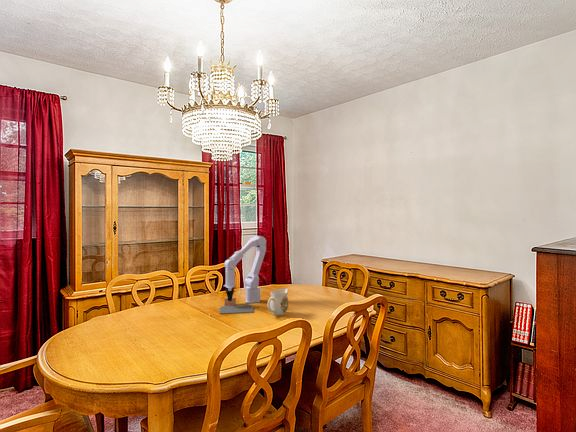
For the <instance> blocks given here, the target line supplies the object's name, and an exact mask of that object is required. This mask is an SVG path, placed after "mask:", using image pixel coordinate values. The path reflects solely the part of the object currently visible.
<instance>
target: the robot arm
mask: <svg viewBox="0 0 576 432" xmlns="http://www.w3.org/2000/svg"><path fill="white" fill-rule="evenodd" d="M267 242H268V241H267V240H266V238H265V236H263V235H262V236H261V235H256V234H255V235H253V236H252V237H251V238H249V239H248V241H247V243H246V244H244V245H243V246H242V248H241V249H240V250H237V251H234V253H233V254H232V255H231V256H230V257H229V258H227V259H226V260H225V261H224V263H223V266H224V268H225V284H224V285H223V288H224V287H225V293H226V296H227V297H228V301H232V297H234V296H233V295H234V293H235V286H236V285H235V281H236V280H235V279H236V278H235V277H236V276H235V273H236V272H235V270H236V269H235V268H237V264H238V263H239V262H240V261H241V260H242V259H243V258H244V255H245V254H246V253H247V252H249V250H250V249H252V248H253V247H255V248H256V250H257V251H256V254H255V256H254V260H253V262H252V263H253V264H252V267H251V269H250V272H249V273H248V274H247V276H246V277H245V279H244V280H243V281H244V282H243V283H244V286H245V300H244V302H245V303H246V304H254V303H261V288H260V287H259V285H260V283H259V282H260V277H259V273H260V270H261V267H262V264H263V261H264V258H265V255H266V252H267Z"/></svg>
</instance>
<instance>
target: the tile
mask: <svg viewBox="0 0 576 432" xmlns="http://www.w3.org/2000/svg"><path fill="white" fill-rule="evenodd" d="M236 302H237V300H236V297H235V296H232V301H228V297H224V306H235V305H236V306H237V303H236Z"/></svg>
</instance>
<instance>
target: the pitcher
mask: <svg viewBox="0 0 576 432" xmlns="http://www.w3.org/2000/svg"><path fill="white" fill-rule="evenodd" d="M288 290H289V288H287V287H285V288H279V289H278V288H277V289H273V290H270V292H269V293H270V297H269V299H268V300H267V304H266V306H267V310H268V311H269V312H270V313H272V314H273V315H274V316H277V317H278V316H279V317H280V316H284V315H285V314H286V313H287V310H288V308H289V298H288Z"/></svg>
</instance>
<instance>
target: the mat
mask: <svg viewBox="0 0 576 432" xmlns="http://www.w3.org/2000/svg"><path fill="white" fill-rule="evenodd" d="M253 313H255V312H254V308H253V304H244V305H236V306H225V305H223V306H222V305H221V306H220V307H219V315H232V314H234V315H235V314H253Z"/></svg>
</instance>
